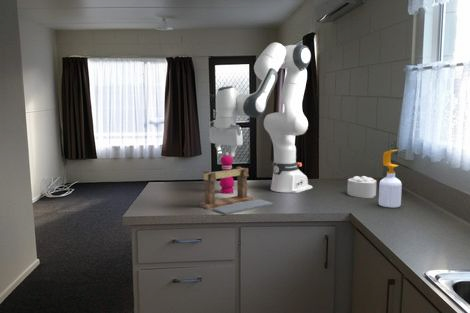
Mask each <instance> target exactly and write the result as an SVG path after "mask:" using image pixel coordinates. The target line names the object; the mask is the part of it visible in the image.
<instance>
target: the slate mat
mask: <svg viewBox="0 0 470 313" xmlns="http://www.w3.org/2000/svg"><path fill="white" fill-rule="evenodd" d="M273 205H274V202H272V201H267V200H265V199H260V198H259V199H253V200H251V201H246V202H241V203H236V204H231V205H226V206H221V207H215V208H212V211H214V212H217V213H219V214H223V215H225V216H226V215H231V214H235V213H241V212H245V211H250V210H251V211H252V210H255V209H259V208H260V209H261V208H265V207H268V206H273Z"/></svg>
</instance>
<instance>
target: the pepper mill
mask: <svg viewBox="0 0 470 313" xmlns="http://www.w3.org/2000/svg"><path fill="white" fill-rule="evenodd" d="M224 153H225V154H224V155H223V156H222V157H221V159H220V163H221V169H222V171H225V170H232V169H233V166H232V164H233V163H234V160H233V159H234V158H233V156H230V153H229V152H227V151H226V152H224ZM233 177H234V176H232V177H226V178H220V179H219V180H220V181H219V186H220V187H221V188H220V194H221V193H222V194H225V195H226V194H232V193H234V188H233V187H234V186H235V180H234V178H233Z"/></svg>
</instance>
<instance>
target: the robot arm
mask: <svg viewBox="0 0 470 313" xmlns="http://www.w3.org/2000/svg"><path fill="white" fill-rule="evenodd" d="M311 58H312V54H311V51H310V49H309V47H308V46H307V45H304V44H288V45H283V44H281V43H279V42H271V43H270V44H269V45H267V47H266V48H264V50H263V51H262V53H260V55H259V56H258V57H257V59H256V61H255V63H254V65H253V71H254V74H255V75H256V77H257V78H258V79H259V80H260V81H261V82H260V84H259V85H258V88H257V90H256V91H255V92H253V93H250V94H247V93H245V94H244V93H242V92H239V91H238V90H237V89H235V86H232V85H229V86H221V87H219V88H218V89H217V91H216V95H215V109H216V114H215V119H214V120H212V121H210V122H209V123H208V126H209V130H208V131H209V134H208V135H209V143H211V144H214V147H215V149H216V154H217V155H222V153H223V150H222V149H221V146H222V145H223V146H227V147H229V146H230V149H231V150H230V152H229V156H231V157H235V156H236V151H237V148H238V147H242V146H243V143H244V141H243V131H242V127H241V126H240V125H239V124H237V117H238V116H239V117H240V116H241V117H251V118H255V119H257V118H260V117H261V116H262V115H263V114H264V113H265V110H266V108H267V104H268V100H269V99H270V96H271V94H272V92H273V89H274V88H275V85H276V83H277V81H278V77H279V76H278V75H279V74H278V72H279V70H280V69H285V70H286V75H285V77H284V80H283V84H282V89H281V92H280V97H279V99H280V100H279V101H281V104H283V105H284V112H272V113H269V114H267V115H266V116H265V118H264V120H263V127H264V129H265V131H266V132H267V133H268V134H269V136H270V139H271V143H272V145H273V162H272V170H273V172H272V180H271V185H270V190H271V191H273V192H277V193H293V194H294V193H295V194H296V193H302V192H305V191H308V190H311V189H313V186H312V185H310V184H309V180H308V177H307V175H305V173H303V172H302V171H301V170H300V169H299V167H302V166H303V164H302V162H297V147H296V145H295V144H294V143H293V142H292V141H291V138H290V136H292V137H293V136H294V137H296V136H300V135H301V136H302V135H304V134H306V132H307V130H308V129H309V128H308V127H309V122H308V119H307V117H306V115H305V114H304V112H303V100H304V96H305V95H304V94H305V90H306V84H307V80H308V71H307V68H308V66H309V64H310V62H311Z"/></svg>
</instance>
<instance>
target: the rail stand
mask: <svg viewBox="0 0 470 313" xmlns="http://www.w3.org/2000/svg"><path fill="white" fill-rule="evenodd" d="M240 168H242V167H241V166H236V167H235V169H240ZM243 168H244V169H243V175H239V176H236V179H237V182H236V184H237V186H236V187H237V189H236V191H237V192H236V194H237V195H236V196H235V195H234V196H230V197H229V196H228V197H224V198H219V199H215V198H216V197H215V196H216V195H215V194H216V193H215V192H216V191H215V189H216V188H215V187H216V186H215V183H216V182H217V179H216V173H211V172H210V171H209V170H205V171H202V174H203V176H202V180H203V181H204V201H202V202H198V206H199V207H201V208H204V209H207V210H210V209H213V208H218V207H223V206H228V205H233V204H238V203H243V202H248V201H253V200H254V197H252V196H249V195H248V180H247V179H248V177H249V168H248V167H243ZM204 173H210V180H205V179H204Z"/></svg>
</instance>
